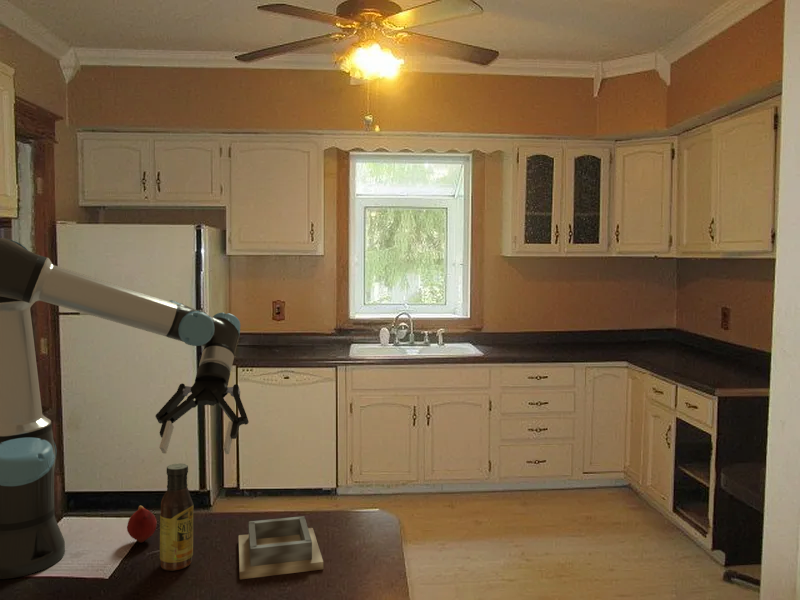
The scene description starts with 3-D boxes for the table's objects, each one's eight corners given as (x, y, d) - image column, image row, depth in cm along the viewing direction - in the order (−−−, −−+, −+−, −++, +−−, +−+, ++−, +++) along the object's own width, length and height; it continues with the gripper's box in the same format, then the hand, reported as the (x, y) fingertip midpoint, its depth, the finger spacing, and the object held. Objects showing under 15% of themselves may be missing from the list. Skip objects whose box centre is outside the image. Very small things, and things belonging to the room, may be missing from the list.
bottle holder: (239, 579, 115) (239, 553, 115) (238, 542, 131) (238, 519, 130) (323, 569, 120) (323, 544, 119) (312, 534, 135) (312, 512, 135)
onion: (157, 534, 134) (157, 499, 133) (155, 546, 128) (155, 509, 128) (128, 537, 132) (128, 502, 131) (125, 549, 126) (125, 512, 126)
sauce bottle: (182, 574, 117) (181, 473, 116) (153, 570, 118) (152, 470, 117) (199, 558, 123) (199, 462, 122) (172, 555, 125) (171, 460, 123)
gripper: (269, 379, 147) (255, 459, 133) (166, 378, 147) (141, 458, 133) (264, 361, 142) (249, 443, 128) (157, 359, 142) (130, 441, 127)
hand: (194, 451), depth 130 cm, fingers open, 13 cm apart
